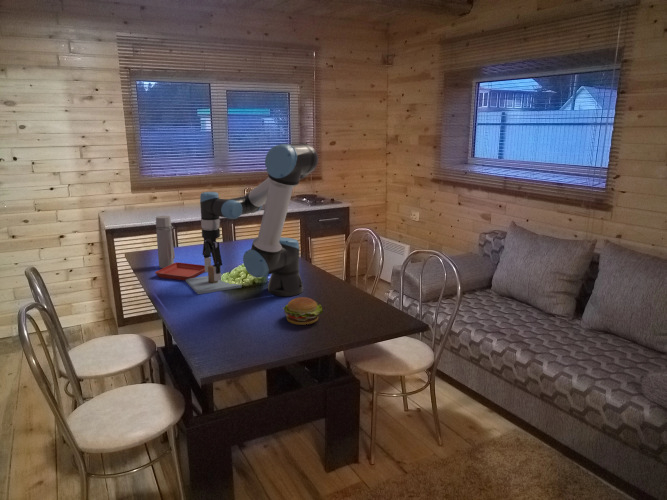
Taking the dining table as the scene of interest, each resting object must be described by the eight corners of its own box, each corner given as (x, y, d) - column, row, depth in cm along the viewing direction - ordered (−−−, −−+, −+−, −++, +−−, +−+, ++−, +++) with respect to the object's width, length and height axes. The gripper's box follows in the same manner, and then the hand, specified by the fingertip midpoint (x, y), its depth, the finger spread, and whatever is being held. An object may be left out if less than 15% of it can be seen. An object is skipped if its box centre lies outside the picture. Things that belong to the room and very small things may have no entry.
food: (288, 329, 178) (288, 308, 175) (280, 314, 191) (280, 294, 189) (325, 325, 181) (326, 304, 179) (316, 311, 194) (316, 291, 192)
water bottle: (155, 267, 246) (151, 217, 239) (167, 264, 252) (163, 214, 246) (169, 270, 241) (165, 219, 235) (180, 266, 248) (177, 216, 242)
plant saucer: (209, 272, 241) (209, 265, 240) (189, 283, 224) (189, 276, 223) (176, 268, 246) (176, 262, 245) (154, 279, 229) (153, 272, 228)
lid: (241, 287, 218) (241, 269, 216) (198, 294, 209) (197, 275, 207) (226, 275, 234) (226, 258, 232) (185, 281, 225) (184, 264, 222)
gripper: (228, 233, 207) (230, 282, 212) (210, 222, 227) (212, 267, 233) (210, 235, 203) (213, 285, 208) (193, 223, 223) (196, 269, 229)
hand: (212, 276), depth 221 cm, fingers open, 13 cm apart
